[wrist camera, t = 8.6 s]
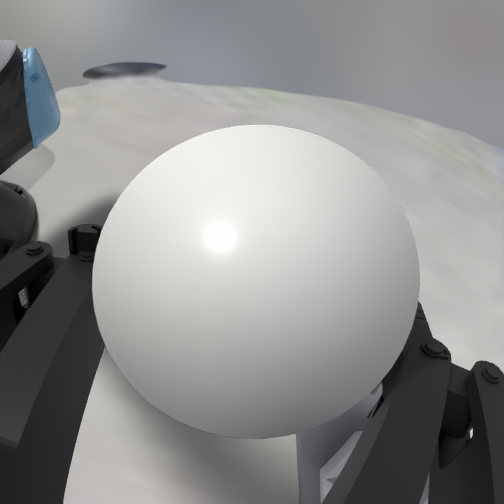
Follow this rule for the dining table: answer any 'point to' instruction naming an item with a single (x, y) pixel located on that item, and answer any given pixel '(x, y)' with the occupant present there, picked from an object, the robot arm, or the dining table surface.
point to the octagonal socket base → (332, 451)
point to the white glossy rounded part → (255, 281)
